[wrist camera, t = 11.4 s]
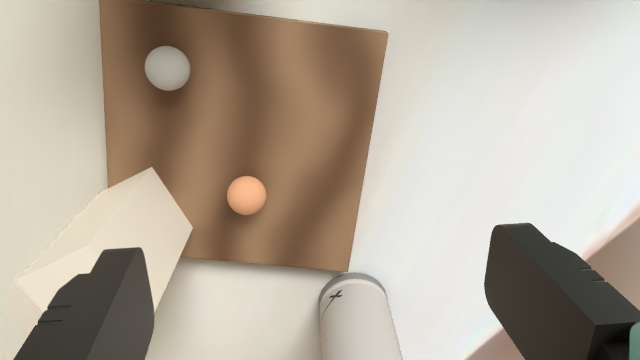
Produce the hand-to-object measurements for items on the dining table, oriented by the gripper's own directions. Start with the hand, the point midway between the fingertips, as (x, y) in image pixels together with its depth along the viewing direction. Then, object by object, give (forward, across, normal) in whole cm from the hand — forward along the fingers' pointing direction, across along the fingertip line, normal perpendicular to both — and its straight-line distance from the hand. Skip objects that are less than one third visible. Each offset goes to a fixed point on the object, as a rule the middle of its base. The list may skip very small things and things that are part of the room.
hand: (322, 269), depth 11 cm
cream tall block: (+27, +11, +11) cm, 31 cm away
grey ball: (+27, +8, 0) cm, 28 cm away
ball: (+26, +3, +10) cm, 28 cm away
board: (+28, +4, +6) cm, 29 cm away
